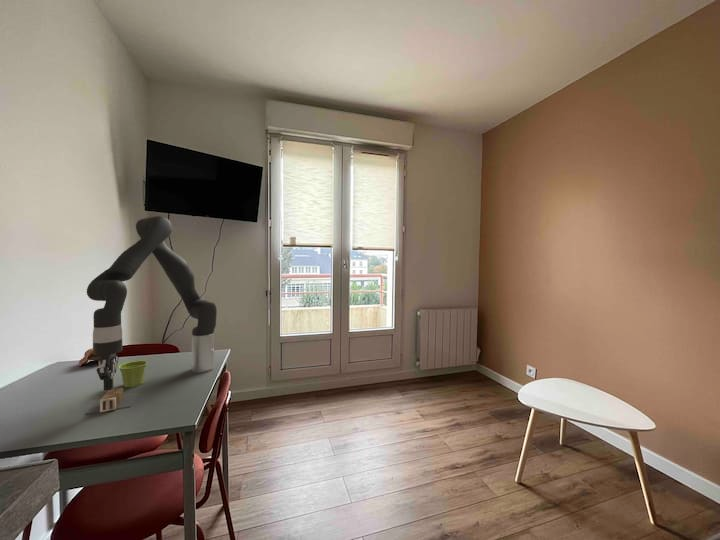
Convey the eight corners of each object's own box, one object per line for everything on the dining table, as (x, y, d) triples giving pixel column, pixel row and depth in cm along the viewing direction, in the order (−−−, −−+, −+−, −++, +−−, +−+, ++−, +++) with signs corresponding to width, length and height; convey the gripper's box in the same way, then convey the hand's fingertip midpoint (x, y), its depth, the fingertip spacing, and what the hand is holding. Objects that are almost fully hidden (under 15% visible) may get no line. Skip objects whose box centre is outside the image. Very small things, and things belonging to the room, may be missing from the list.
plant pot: (116, 384, 118) (116, 364, 118) (144, 378, 125) (145, 358, 125) (120, 392, 112) (120, 370, 112) (149, 384, 119) (149, 364, 119)
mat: (139, 392, 111) (139, 391, 111) (130, 406, 101) (130, 405, 101) (99, 398, 106) (99, 397, 106) (85, 414, 95) (85, 413, 95)
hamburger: (117, 357, 152) (116, 339, 152) (122, 363, 144) (122, 343, 144) (75, 365, 139) (74, 345, 139) (78, 372, 131) (78, 350, 131)
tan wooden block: (115, 409, 98) (123, 398, 106) (115, 398, 98) (123, 387, 106) (100, 412, 96) (109, 400, 104) (100, 400, 96) (109, 389, 104)
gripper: (115, 342, 92) (116, 395, 93) (127, 333, 104) (128, 380, 104) (85, 345, 89) (85, 400, 89) (100, 335, 101) (101, 383, 101)
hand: (108, 389), depth 97 cm, fingers closed
